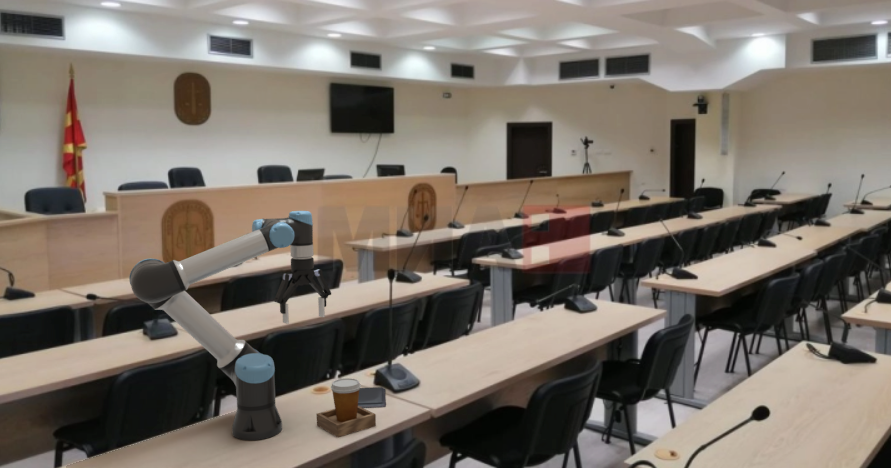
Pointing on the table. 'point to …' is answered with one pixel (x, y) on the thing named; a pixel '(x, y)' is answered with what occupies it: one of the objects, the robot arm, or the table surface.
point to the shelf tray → (338, 429)
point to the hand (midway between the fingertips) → (304, 319)
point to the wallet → (372, 397)
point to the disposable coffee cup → (346, 398)
